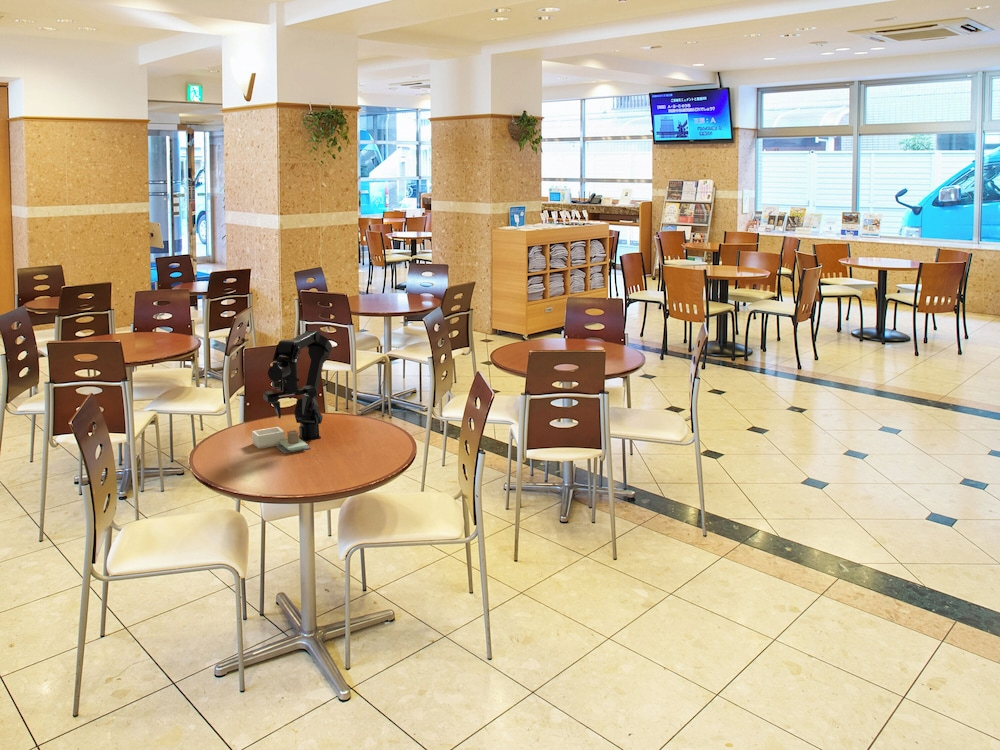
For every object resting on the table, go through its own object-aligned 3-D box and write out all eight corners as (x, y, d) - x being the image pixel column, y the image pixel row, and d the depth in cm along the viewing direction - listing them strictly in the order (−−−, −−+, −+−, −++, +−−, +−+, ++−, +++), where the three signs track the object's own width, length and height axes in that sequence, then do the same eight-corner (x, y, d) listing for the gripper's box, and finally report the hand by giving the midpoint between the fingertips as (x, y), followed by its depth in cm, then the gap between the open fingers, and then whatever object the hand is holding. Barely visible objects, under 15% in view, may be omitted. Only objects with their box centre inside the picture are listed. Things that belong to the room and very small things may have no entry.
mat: (301, 442, 329) (301, 441, 328) (310, 448, 322) (310, 447, 322) (276, 447, 323) (275, 446, 323) (284, 453, 316) (284, 452, 316)
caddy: (278, 439, 332) (277, 426, 331) (285, 444, 326) (284, 431, 325) (252, 443, 327) (252, 431, 325) (259, 449, 321) (258, 436, 320)
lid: (308, 449, 320) (307, 434, 319) (288, 452, 316) (288, 437, 315) (297, 441, 328) (297, 426, 327) (278, 444, 324) (278, 430, 323)
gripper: (305, 367, 327) (307, 407, 331) (256, 373, 317) (259, 414, 321) (317, 373, 318) (318, 414, 322) (267, 380, 308) (269, 422, 312)
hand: (291, 416), depth 319 cm, fingers open, 9 cm apart
